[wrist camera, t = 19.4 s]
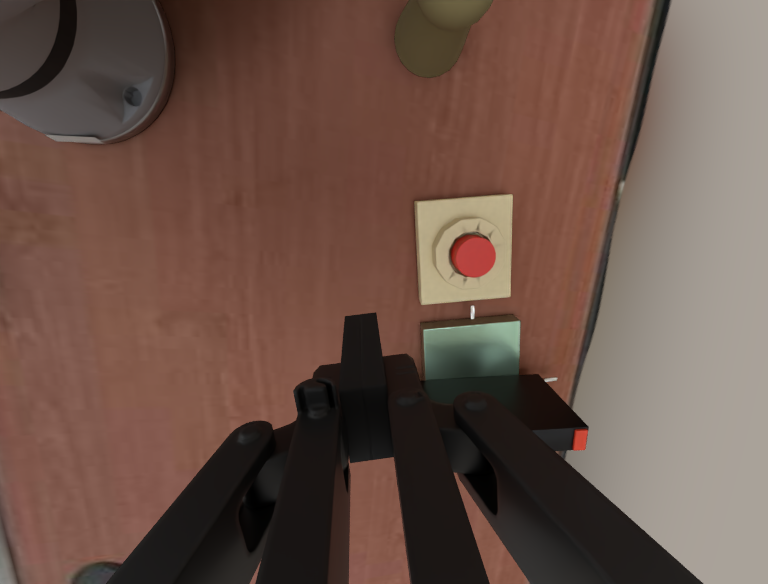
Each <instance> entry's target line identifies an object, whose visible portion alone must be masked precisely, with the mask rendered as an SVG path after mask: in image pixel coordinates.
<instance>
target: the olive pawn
mask: <svg viewBox="0 0 768 584" xmlns="http://www.w3.org/2000/svg"><path fill="white" fill-rule="evenodd" d="M492 2H493V0H409V1H408V3H407V5H406V6H405V8H404V10H403V12H402V13H401V15H400V18H399V20H398V22H397V25H396V29H395V38H394V40H395V46H396V52H397V54H398V56H399V58H400V60H401V62H402V63H403V65H404V66H405V67H406V68H407V69H408V70H409V71H410V72H412V73H414V74H416V75H418V76H421V77H427V78H431V77H436V76H440V75H442V74H444V73H445V72H447V71H449V70H450V69H451V68H452V66H453V65H454V64H455V63H456V62H457V60H458V58H459V56H460V53H461V51H462V49H463V46H464V43H465V41H466V38H467V35H468V32H469V30H470V27H471V25H473V24H474V23H476V22H478V21H479V19H480V18H481V17H482V16H483V15H484V14H485V13H486V11H487V10H488V9H489V8H490V6H491V4H492Z"/></svg>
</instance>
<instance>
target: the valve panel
mask: <svg viewBox="0 0 768 584" xmlns="http://www.w3.org/2000/svg"><path fill="white" fill-rule="evenodd" d="M470 310H471V318H469V319H458V320H447V321H436V322H425V323H420V329H421V349H422V370H423V381H426V380H444V379H462V378H479V377H497V376H515V375H519V355H520V323H521V321H520V320H519V319H518V318H517V317H515V316H514V315H513V314H512V315H501V316H491V317H480V318H474V305H472V306H470ZM544 381H545V382H548V381H557V377H551V378H544Z"/></svg>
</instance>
